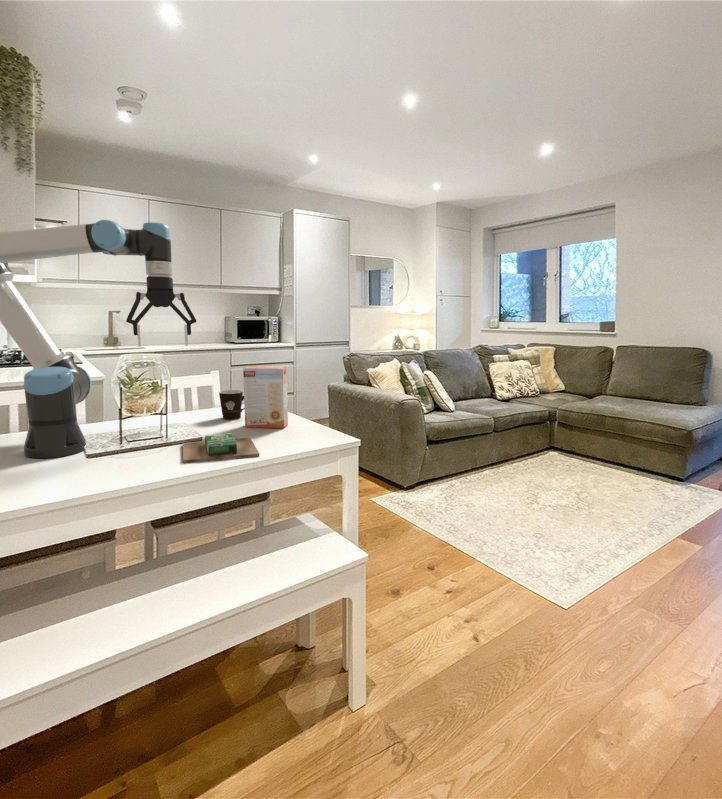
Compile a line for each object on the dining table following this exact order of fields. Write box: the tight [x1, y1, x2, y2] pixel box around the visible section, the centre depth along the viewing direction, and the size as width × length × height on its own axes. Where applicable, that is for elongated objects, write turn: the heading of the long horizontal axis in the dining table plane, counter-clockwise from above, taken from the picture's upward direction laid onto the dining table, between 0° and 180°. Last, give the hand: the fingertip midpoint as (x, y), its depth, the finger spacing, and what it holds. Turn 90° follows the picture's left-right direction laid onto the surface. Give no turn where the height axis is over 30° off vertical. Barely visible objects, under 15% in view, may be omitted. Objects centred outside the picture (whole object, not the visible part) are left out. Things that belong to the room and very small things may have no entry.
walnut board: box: [182, 437, 260, 464], centre depth 144 cm, size 20×18×1 cm
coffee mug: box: [218, 389, 245, 421], centre depth 185 cm, size 12×9×10 cm
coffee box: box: [204, 432, 237, 456], centre depth 143 cm, size 8×3×13 cm
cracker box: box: [242, 365, 289, 429], centre depth 172 cm, size 14×6×21 cm, turn 84°
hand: (163, 346), depth 156 cm, fingers open, 13 cm apart
